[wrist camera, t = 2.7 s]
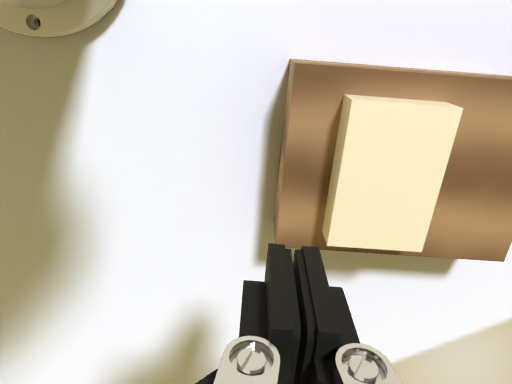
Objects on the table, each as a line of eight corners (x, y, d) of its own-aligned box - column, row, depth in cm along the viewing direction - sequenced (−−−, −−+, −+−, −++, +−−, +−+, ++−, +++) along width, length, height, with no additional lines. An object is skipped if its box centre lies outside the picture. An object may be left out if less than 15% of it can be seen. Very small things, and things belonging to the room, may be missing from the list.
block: (344, 94, 21) (352, 99, 20) (445, 102, 22) (463, 108, 20) (322, 230, 25) (327, 245, 23) (409, 236, 25) (421, 252, 23)
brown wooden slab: (290, 59, 24) (295, 63, 21) (526, 77, 25) (573, 84, 21) (273, 220, 29) (275, 246, 25) (473, 233, 30) (503, 261, 26)
